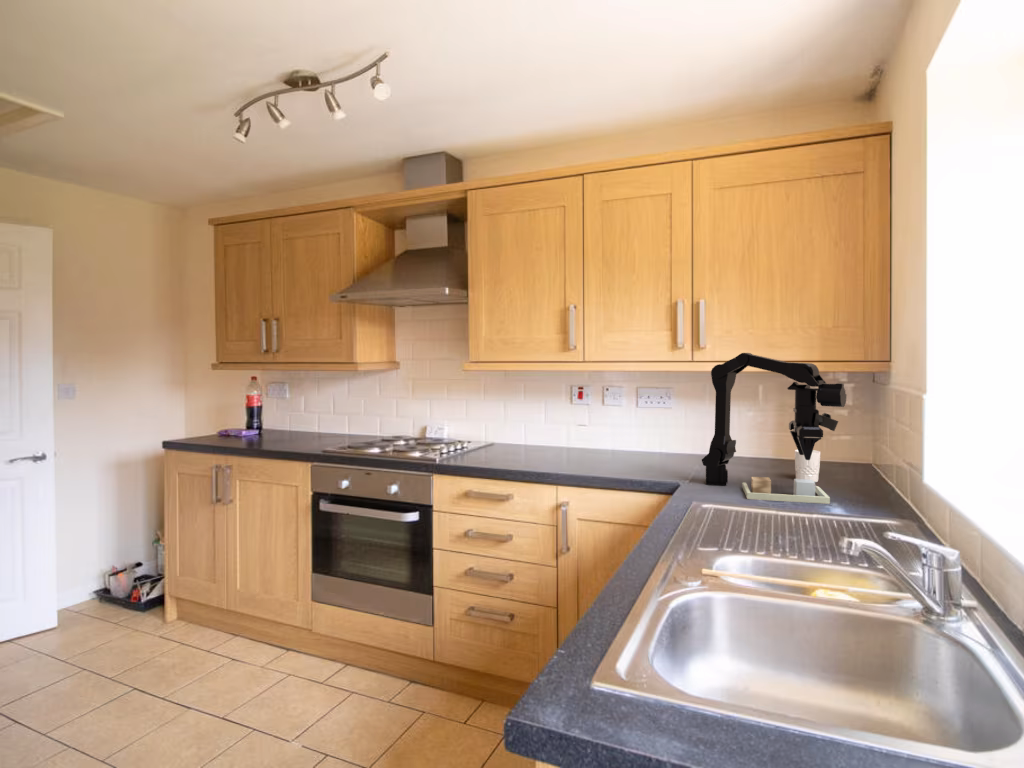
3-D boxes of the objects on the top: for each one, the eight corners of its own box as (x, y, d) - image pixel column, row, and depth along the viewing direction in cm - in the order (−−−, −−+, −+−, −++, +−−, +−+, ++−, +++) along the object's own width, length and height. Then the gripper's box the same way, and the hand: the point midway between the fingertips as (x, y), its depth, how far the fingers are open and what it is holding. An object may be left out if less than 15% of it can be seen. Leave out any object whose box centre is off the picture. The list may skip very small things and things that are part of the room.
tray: (747, 499, 172) (747, 493, 172) (742, 488, 186) (742, 482, 186) (829, 503, 166) (830, 497, 166) (818, 492, 180) (818, 486, 180)
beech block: (752, 496, 176) (753, 480, 176) (751, 492, 181) (751, 476, 180) (770, 497, 174) (771, 480, 174) (768, 493, 179) (768, 477, 179)
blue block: (796, 498, 172) (796, 482, 172) (793, 495, 177) (793, 478, 177) (815, 499, 171) (815, 483, 171) (811, 496, 176) (811, 479, 175)
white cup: (812, 477, 201) (812, 449, 201) (825, 482, 193) (825, 452, 193) (789, 478, 201) (790, 449, 201) (801, 483, 193) (802, 453, 193)
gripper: (843, 408, 161) (842, 464, 162) (828, 403, 179) (827, 453, 180) (799, 407, 165) (799, 462, 165) (788, 402, 183) (788, 452, 183)
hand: (804, 457), depth 173 cm, fingers open, 9 cm apart
